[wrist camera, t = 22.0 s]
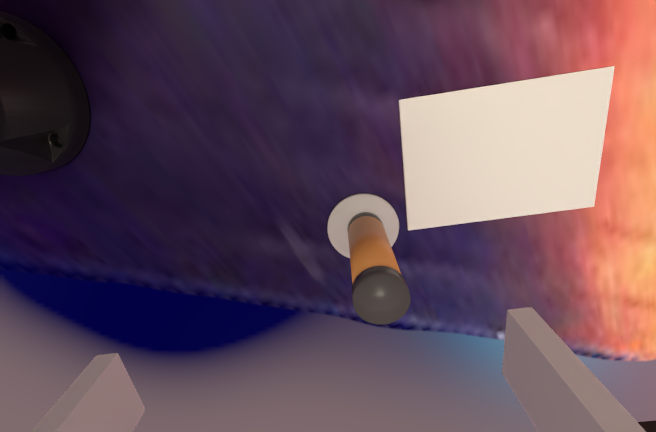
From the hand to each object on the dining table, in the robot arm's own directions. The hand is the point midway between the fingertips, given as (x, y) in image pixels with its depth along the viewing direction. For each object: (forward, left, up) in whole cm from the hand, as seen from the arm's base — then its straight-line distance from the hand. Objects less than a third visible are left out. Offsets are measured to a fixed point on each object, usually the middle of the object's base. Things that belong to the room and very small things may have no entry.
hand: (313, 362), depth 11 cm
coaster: (+3, -6, -26) cm, 27 cm away
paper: (+18, 0, -26) cm, 31 cm away
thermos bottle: (+3, -6, -25) cm, 26 cm away
